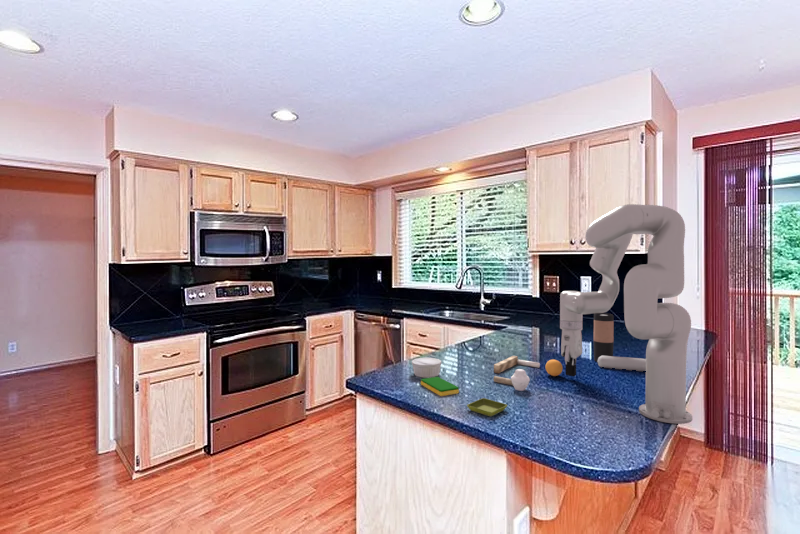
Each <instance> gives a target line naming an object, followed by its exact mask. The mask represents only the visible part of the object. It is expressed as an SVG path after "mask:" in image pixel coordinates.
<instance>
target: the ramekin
mask: <svg viewBox="0 0 800 534" xmlns="http://www.w3.org/2000/svg"><path fill="white" fill-rule="evenodd" d="M411 365H412V369H413V374H414V375H415V376H416V377H418V378H421V379H425V378H432V377H439V375H440V372H441V366H442V360H441V359H439V358H434V357H420V358H419V357H418V358H415V359H412V361H411Z"/></svg>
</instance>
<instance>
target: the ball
mask: <svg viewBox="0 0 800 534" xmlns="http://www.w3.org/2000/svg"><path fill="white" fill-rule="evenodd" d="M544 367H545V371H546V372H547V374H548V375H550V376H552V377H556V376H557V377H558V376H560V375H561V374H562V372H563V365H562V362H560V361H559V360H557V359H550V360H547V362H546V364H545V366H544Z"/></svg>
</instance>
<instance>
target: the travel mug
mask: <svg viewBox="0 0 800 534" xmlns="http://www.w3.org/2000/svg"><path fill="white" fill-rule="evenodd" d="M614 323H615V321H614V315H613V314H611V313H608V312H604V313H593V360H594V362H596V363H598V362H597V361H598V358H599V357H600V356H602V355H603V356H614V345H615V344H614V343H615V342H614V341H615V340H614V339H615V338H614V331H615V330H614Z"/></svg>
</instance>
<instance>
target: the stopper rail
mask: <svg viewBox="0 0 800 534" xmlns="http://www.w3.org/2000/svg"><path fill="white" fill-rule="evenodd" d="M517 359H519V358H518V356H517V355H512V356H509V357H508V358H505V359H504V360H501V361H499V362H496V363H494V364H493V373H496V374H500V373H501V372H502V373H503V372H504V371H506V370H508V369H510V368H512V367H514V366H516V365H518V364H517Z"/></svg>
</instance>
